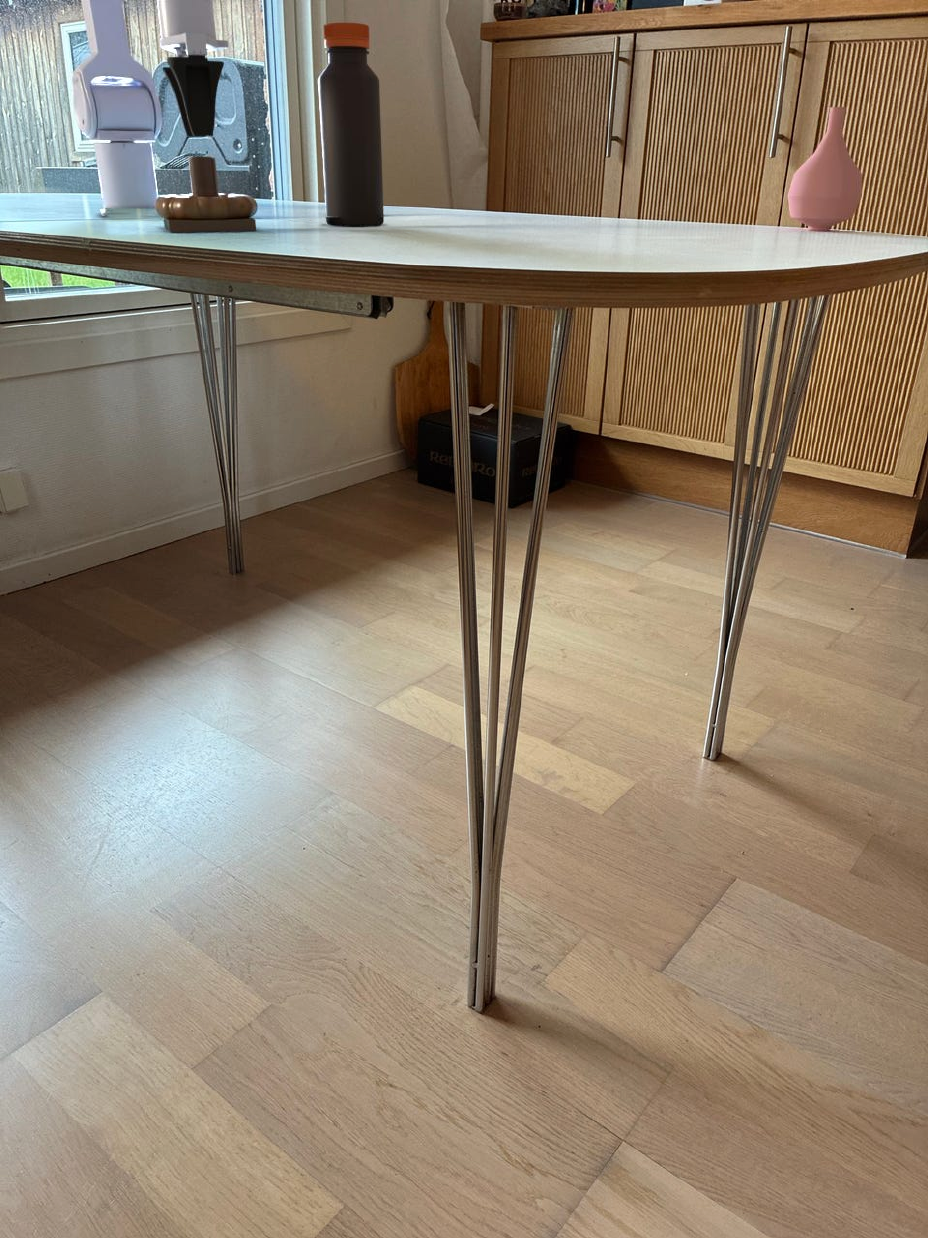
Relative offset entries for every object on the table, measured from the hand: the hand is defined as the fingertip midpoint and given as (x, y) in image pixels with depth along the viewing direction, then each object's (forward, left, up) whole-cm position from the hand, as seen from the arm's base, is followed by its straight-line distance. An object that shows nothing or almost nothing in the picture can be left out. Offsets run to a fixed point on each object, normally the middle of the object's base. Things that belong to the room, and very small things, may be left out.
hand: (199, 136), depth 105 cm
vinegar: (+4, +16, -9) cm, 19 cm away
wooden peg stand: (+6, -1, -9) cm, 11 cm away
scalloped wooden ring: (+5, -1, -7) cm, 9 cm away
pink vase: (+28, +63, -9) cm, 70 cm away
